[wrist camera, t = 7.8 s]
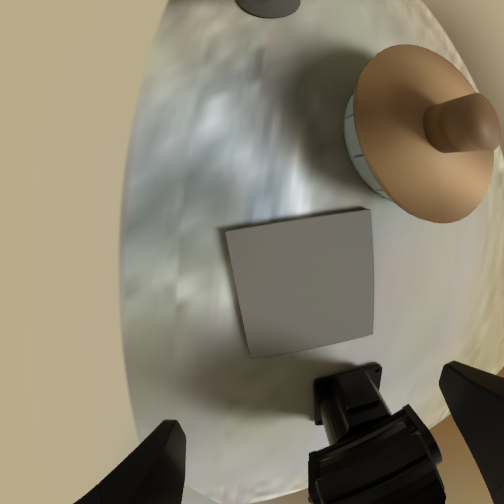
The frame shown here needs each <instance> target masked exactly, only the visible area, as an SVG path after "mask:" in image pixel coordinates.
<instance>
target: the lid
mask: <svg viewBox="0 0 504 504" xmlns="http://www.w3.org/2000/svg"><path fill="white" fill-rule="evenodd" d="M353 117H354V124H355V131H356V135H357V139H358V143H359V146H360V149H361V152H362V154H363V157H364V159H365V161H366V163H367V166H368V168H369V170H370V171H371V173H372V175H373V177H374V178H375V180H376V181H377V183H378V184H379V186H380V187H381V188H382V190H383V191H384V192H385V193H386V194H387V196H388V197H389V198H390V199H391V200H392V201H393V202H394V203H396V204H397V205H398V206H399V207H400V208H402V209H403V210H404V211H406V212H407V213H409V214H411V215H413V216H415V217H417V218H420V219H424V220H427V221H431V222H435V223H452V222H455V221H459V220H461V219H463V218H465V217H466V216H468V215H469V214H470V213H472V212H473V211H474V210H475V209H476V207H477V206H478V205H479V204H480V202H481V201H482V199H483V197H484V196H485V194H486V192H487V189H488V186H489V184H490V180H491V176H492V170H493V161H494V150H495V149H496V148H497V147H498V145H499V143H500V138H501V130H500V123H499V120H498V117H497V114H496V112H495V110H494V108H493V106H492V104H491V103H490V102H489V101H488V99H487V98H485V97H484V96H483V95H481V94H479V93H476V92H475V90H474V88H473V87H472V85H471V84H470V83H469V81H468V80H467V79H466V78H465V76H464V75H463V74H462V73H461V72H460V71H459V70H458V69H457V68H456V67H455V66H454V65H453V64H452V63H450V62H449V61H448V60H446V59H445V58H444V57H442V56H440V55H439V54H437V53H435V52H433V51H431V50H429V49H426V48H423V47H420V46H415V45H396V46H392V47H389V48H387V49H384V50H383V51H381V52H380V53H378V54H377V55H376V56H375V57H374V58H373V59H371V61H370V62H369V63H368V64H367V65H366V66H365V67H364V69H363V70H362V72H361V74H360V76H359V79H358V81H357V84H356V88H355V92H354V101H353Z"/></svg>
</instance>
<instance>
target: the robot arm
mask: <svg viewBox="0 0 504 504" xmlns="http://www.w3.org/2000/svg"><path fill="white" fill-rule="evenodd" d="M377 368H378V369H377ZM376 369H377V370H376ZM381 374H382V367H381V365H380V364H374V365H371V366H367V367H364V368H360V369H356V370H353V371H349V372H345V373H341V374H337V375H332V376H328V377H324V378H319V379H316V380H314V382H313V401H314V422H315V425H324V427H325V431H326V434H327V438H328V441H329V445H330V446H328V447H326V448H323V449H321V450H318V451H313V452H310V453H309V461H308V491H309V496H308V501H309V502H310V503H311V504H445V500H446V494H445V492H444V485H443V482H442V480H441V477H440V475H439V472H438V470H437V468H436V466H437V465H438V464H440V463H441V462H442V456H441V453H440V450H439V448H438V446H437V443H436V441H435V439H434V437H433V436H432V434H431V433H430V431H429V430H428V428H427V427H426V426H425V424H424V423H423V422H422V420H421V419H420V418H419V417H418V415H417V414H416V413H415V412H414V410H413V409H412V408H411V406H410V405H409V404H407V405H406V406H404V407H403V409H401V410H399V411H398V412H396V413H394V414H393V415H392V414H391V412H390V410H389V408H388V407H387V405H386V403H385V401H384V400H383V398H382V396H381V394H380V392H379V387H380V381H381ZM319 383H320V384H319ZM317 384H319V385H317ZM439 387H440V389H441V392H442V394H443V396H444V398H445V401H446V403H447V405H448V408H449V410H450V412H451V415H452V417H453V419H454V421H455V423H456V425H457V426H458V428H459V430H460V432H461V434H462V436H463V437H464V440H465V441H466V443H467V445H468V447H469V449H470V451H471V453H472V455H473V457H474V459H475V461H476V463H477V465H478V467H479V469H480V472H481V474H482V476H483V479H484V481H485V483H486V485H487V488H488V490H489V492H490V494H491V498H492V500H493V503H494V504H504V378H503V377H500V376H497V375H494V374H491V373H488V372H485V371H482V370H479V369H476V368H474V367H471V366H468V365H465V364H462V363H460V362H457V361H451V362H449V363H447V364H445V365H444V367H443V369H442V373H441V376H440V380H439ZM185 461H186V436H185V433H184V432H183V430H182V428H181V426H180V424H179V422H178V421H177V420H164V421H163V422H162V423H161V424H160V425H159V426H158V427H157V428H156V429H155V430H154V431H153V432H152V433H151V434H150V435H149V436H148V437H147V438H146V439H145V440H144V441H143V442H142V443H141V444H140V445H139V446H138V447H137V448H136V449H135V450H134V451H133V452H132V453H130V454H129V455H128V456H127V457H126V458H125V459H124V460H123V461H122V462H121V463H120V464H119V465H118V466H117V467H116V468H115V469H114V470H113V471H112V472H110V473H109V474H108V475H107V476H106V477H105V478H104V479H103V480H102V481H101V482H100V483H99V484H97V485H96V486H95V487H94V488H93V489H92V490H90V491H89V492H88V493H87V494H86V495H84V496H83V497H82V498H81V499H79V500H78V501H76V502H75V503H73V504H181V501H182V495H183V488H184V481H185Z"/></svg>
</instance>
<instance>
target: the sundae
mask: <svg viewBox="0 0 504 504" xmlns="http://www.w3.org/2000/svg"><path fill="white" fill-rule="evenodd" d="M237 2H238V4H239V6H240V7H241V8H242V9H244V10H245V11H246V12H248V13H250V14H253V15H255V16H259V17H264V18H279V17H285V16H288V15H290V14H292V13H294V12H295V11H296V10H297V9H298V7H299V6H300V0H237Z"/></svg>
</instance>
